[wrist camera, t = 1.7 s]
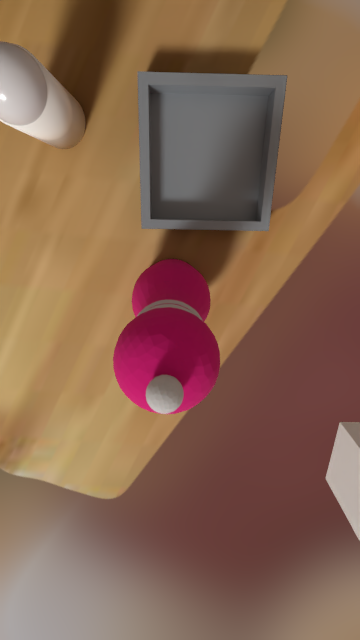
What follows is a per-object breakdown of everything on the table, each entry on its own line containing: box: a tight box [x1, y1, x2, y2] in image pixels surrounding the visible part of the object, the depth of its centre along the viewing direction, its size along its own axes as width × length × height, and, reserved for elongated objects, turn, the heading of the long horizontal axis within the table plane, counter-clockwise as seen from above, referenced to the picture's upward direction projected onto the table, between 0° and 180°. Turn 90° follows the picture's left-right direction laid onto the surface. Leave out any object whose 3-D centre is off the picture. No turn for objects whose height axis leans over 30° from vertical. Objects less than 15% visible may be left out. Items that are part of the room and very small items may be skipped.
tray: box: [138, 72, 287, 231], centre depth 26 cm, size 12×12×2 cm
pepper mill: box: [113, 259, 220, 414], centre depth 22 cm, size 7×7×20 cm
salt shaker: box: [0, 41, 86, 149], centre depth 22 cm, size 4×4×10 cm
